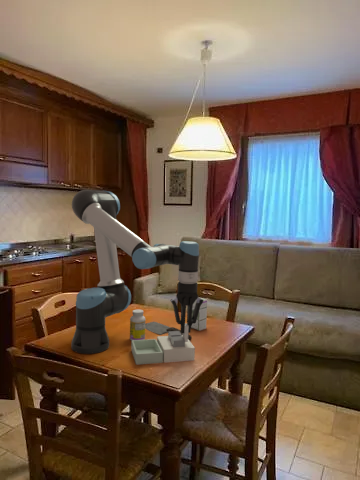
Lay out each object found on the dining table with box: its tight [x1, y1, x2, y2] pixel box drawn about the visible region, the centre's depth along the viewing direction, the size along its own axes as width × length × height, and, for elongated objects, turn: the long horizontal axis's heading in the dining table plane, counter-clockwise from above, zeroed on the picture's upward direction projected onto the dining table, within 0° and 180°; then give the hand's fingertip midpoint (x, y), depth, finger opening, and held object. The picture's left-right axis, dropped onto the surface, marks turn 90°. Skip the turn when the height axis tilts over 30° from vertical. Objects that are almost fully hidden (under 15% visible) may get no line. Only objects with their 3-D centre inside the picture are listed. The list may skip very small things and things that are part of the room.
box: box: [130, 338, 164, 366], centre depth 145 cm, size 10×14×4 cm
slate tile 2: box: [167, 331, 182, 341], centre depth 151 cm, size 4×4×2 cm
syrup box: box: [191, 297, 208, 332], centre depth 179 cm, size 6×6×14 cm
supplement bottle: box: [129, 308, 146, 342], centre depth 162 cm, size 7×7×13 cm
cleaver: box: [145, 321, 192, 341], centre depth 173 cm, size 29×10×2 cm, turn 45°
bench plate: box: [156, 335, 196, 363], centre depth 148 cm, size 12×14×5 cm
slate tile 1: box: [171, 336, 185, 347], centre depth 145 cm, size 4×4×2 cm
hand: (185, 340), depth 146 cm, fingers closed
